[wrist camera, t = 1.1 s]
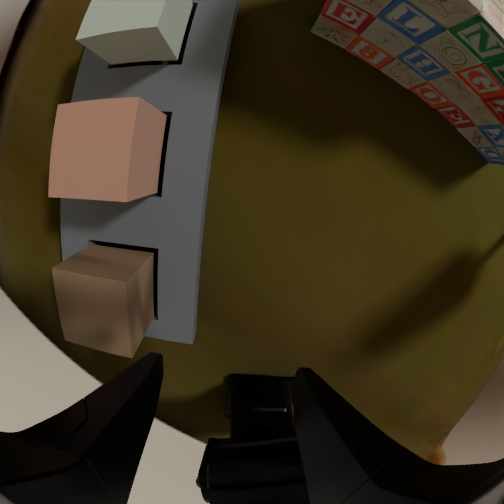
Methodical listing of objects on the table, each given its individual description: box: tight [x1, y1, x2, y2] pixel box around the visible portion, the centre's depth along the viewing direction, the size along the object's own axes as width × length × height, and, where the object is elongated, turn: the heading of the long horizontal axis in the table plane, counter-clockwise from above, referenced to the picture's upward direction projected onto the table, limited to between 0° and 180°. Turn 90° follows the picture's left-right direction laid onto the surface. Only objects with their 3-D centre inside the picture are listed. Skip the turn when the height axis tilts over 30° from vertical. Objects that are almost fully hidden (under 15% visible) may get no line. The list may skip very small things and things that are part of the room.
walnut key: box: [52, 244, 154, 358], centre depth 16 cm, size 5×5×5 cm
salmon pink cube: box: [48, 97, 167, 202], centre depth 13 cm, size 5×5×5 cm
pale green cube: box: [76, 0, 193, 64], centre depth 11 cm, size 5×5×5 cm
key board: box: [60, 0, 240, 344], centre depth 17 cm, size 27×11×2 cm, turn 172°
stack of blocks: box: [311, 0, 504, 165], centre depth 10 cm, size 21×6×12 cm, turn 67°
